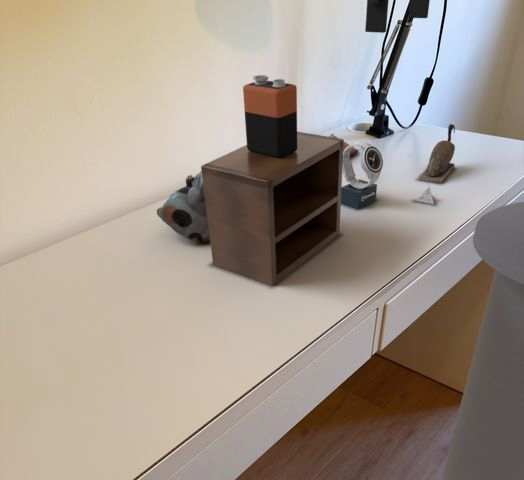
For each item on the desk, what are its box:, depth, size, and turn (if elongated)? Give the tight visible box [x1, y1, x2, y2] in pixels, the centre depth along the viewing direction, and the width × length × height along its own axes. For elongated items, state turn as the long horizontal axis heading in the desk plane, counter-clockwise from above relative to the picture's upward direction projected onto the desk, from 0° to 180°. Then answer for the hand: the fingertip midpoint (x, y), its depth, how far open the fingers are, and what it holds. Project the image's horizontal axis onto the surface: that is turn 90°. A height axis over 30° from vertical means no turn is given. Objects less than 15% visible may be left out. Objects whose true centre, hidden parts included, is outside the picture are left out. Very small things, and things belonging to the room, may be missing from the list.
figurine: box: [419, 123, 456, 184], centre depth 110 cm, size 14×4×9 cm, turn 149°
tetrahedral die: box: [416, 186, 435, 205], centre depth 101 cm, size 4×3×3 cm
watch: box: [341, 141, 384, 210], centre depth 99 cm, size 6×8×11 cm
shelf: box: [200, 131, 345, 286], centre depth 84 cm, size 12×20×16 cm, turn 143°
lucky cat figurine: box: [156, 170, 210, 243], centre depth 93 cm, size 15×12×14 cm
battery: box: [242, 74, 298, 158], centre depth 76 cm, size 4×7×10 cm, turn 48°
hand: (397, 24), depth 75 cm, fingers open, 13 cm apart
